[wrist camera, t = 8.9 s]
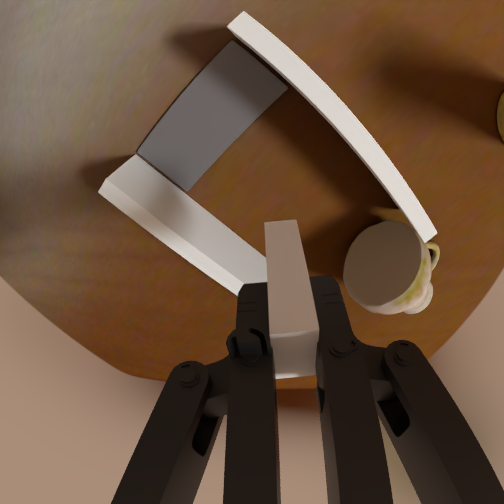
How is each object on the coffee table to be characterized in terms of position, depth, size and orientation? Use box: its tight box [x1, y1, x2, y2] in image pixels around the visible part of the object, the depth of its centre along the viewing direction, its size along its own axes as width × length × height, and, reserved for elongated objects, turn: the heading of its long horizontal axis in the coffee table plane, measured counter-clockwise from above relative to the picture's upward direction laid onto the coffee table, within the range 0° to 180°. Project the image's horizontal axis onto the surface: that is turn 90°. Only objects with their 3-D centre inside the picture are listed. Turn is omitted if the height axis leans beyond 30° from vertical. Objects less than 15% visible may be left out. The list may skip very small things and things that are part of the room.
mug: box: [343, 220, 440, 315], centre depth 23 cm, size 8×10×10 cm
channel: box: [98, 11, 437, 296], centre depth 19 cm, size 18×14×5 cm
